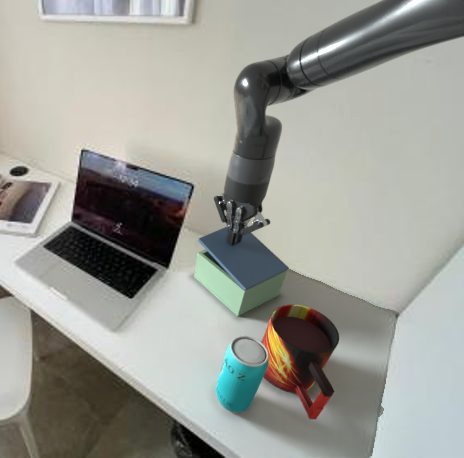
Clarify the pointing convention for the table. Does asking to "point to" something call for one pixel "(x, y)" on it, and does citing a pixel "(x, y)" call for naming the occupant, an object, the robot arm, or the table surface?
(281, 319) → the mug
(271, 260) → the box lid
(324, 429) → the table surface
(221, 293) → the storage box
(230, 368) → the beverage can
